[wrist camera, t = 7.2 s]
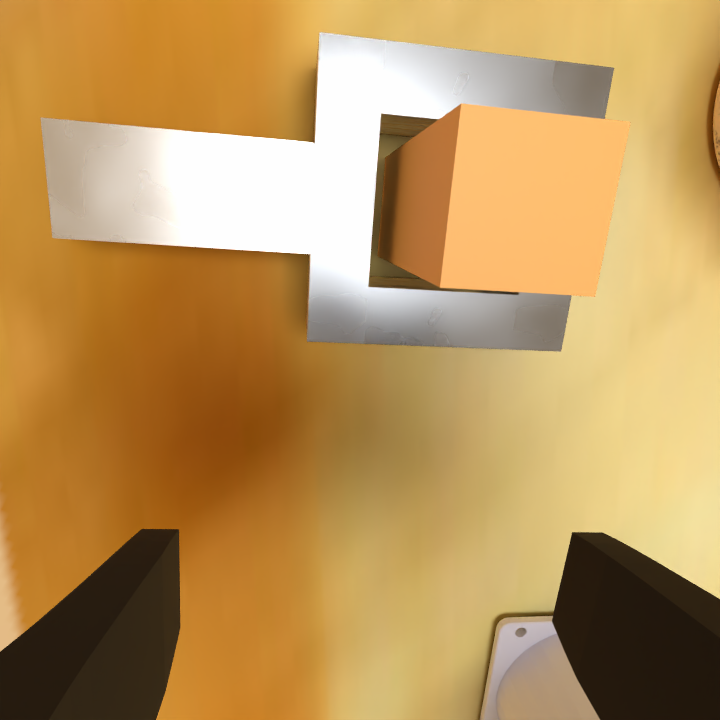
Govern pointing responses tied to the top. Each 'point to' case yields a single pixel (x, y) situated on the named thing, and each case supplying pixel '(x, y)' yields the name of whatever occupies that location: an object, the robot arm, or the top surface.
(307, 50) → the top surface
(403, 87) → the bracket
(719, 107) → the teacup with lid
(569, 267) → the square peg
